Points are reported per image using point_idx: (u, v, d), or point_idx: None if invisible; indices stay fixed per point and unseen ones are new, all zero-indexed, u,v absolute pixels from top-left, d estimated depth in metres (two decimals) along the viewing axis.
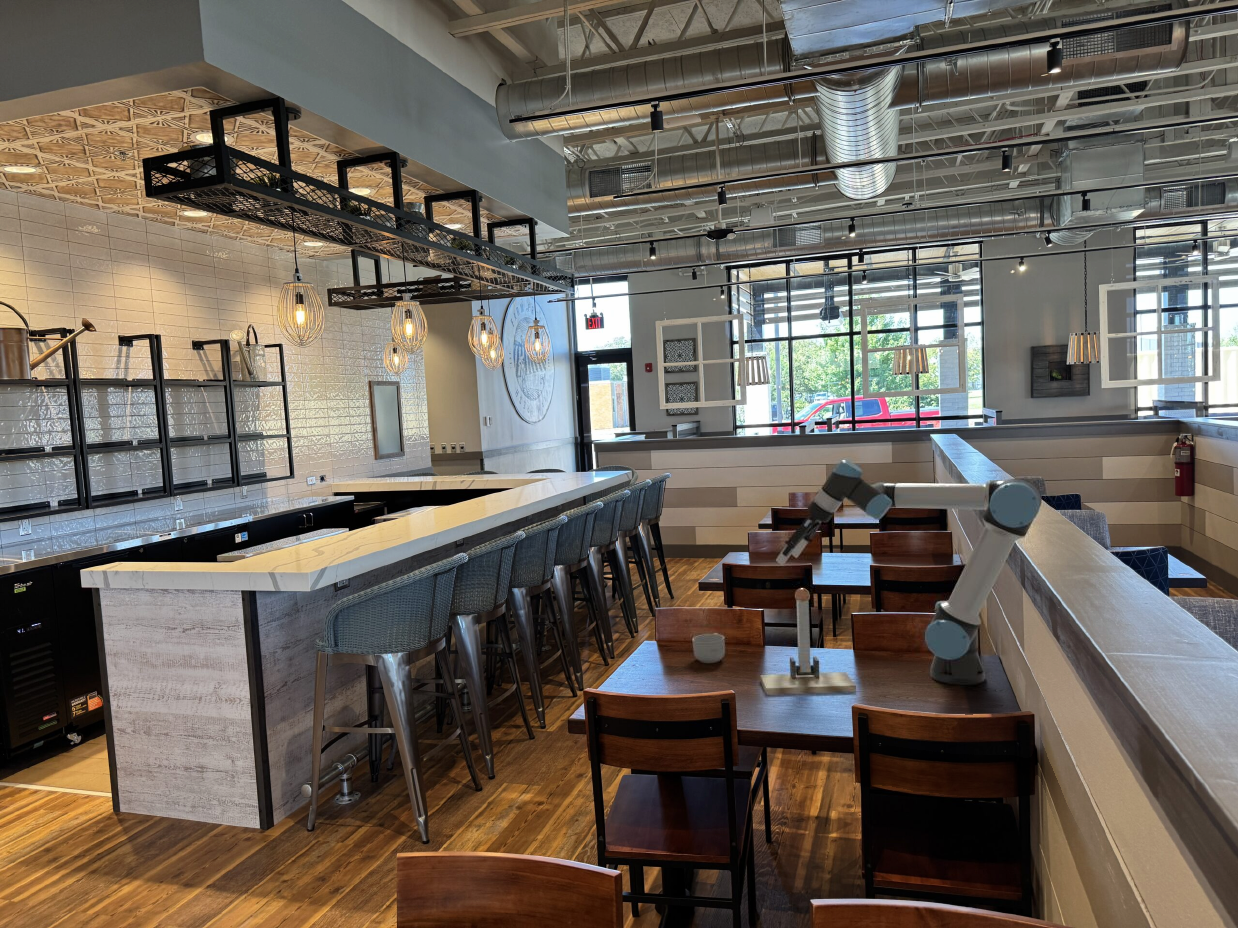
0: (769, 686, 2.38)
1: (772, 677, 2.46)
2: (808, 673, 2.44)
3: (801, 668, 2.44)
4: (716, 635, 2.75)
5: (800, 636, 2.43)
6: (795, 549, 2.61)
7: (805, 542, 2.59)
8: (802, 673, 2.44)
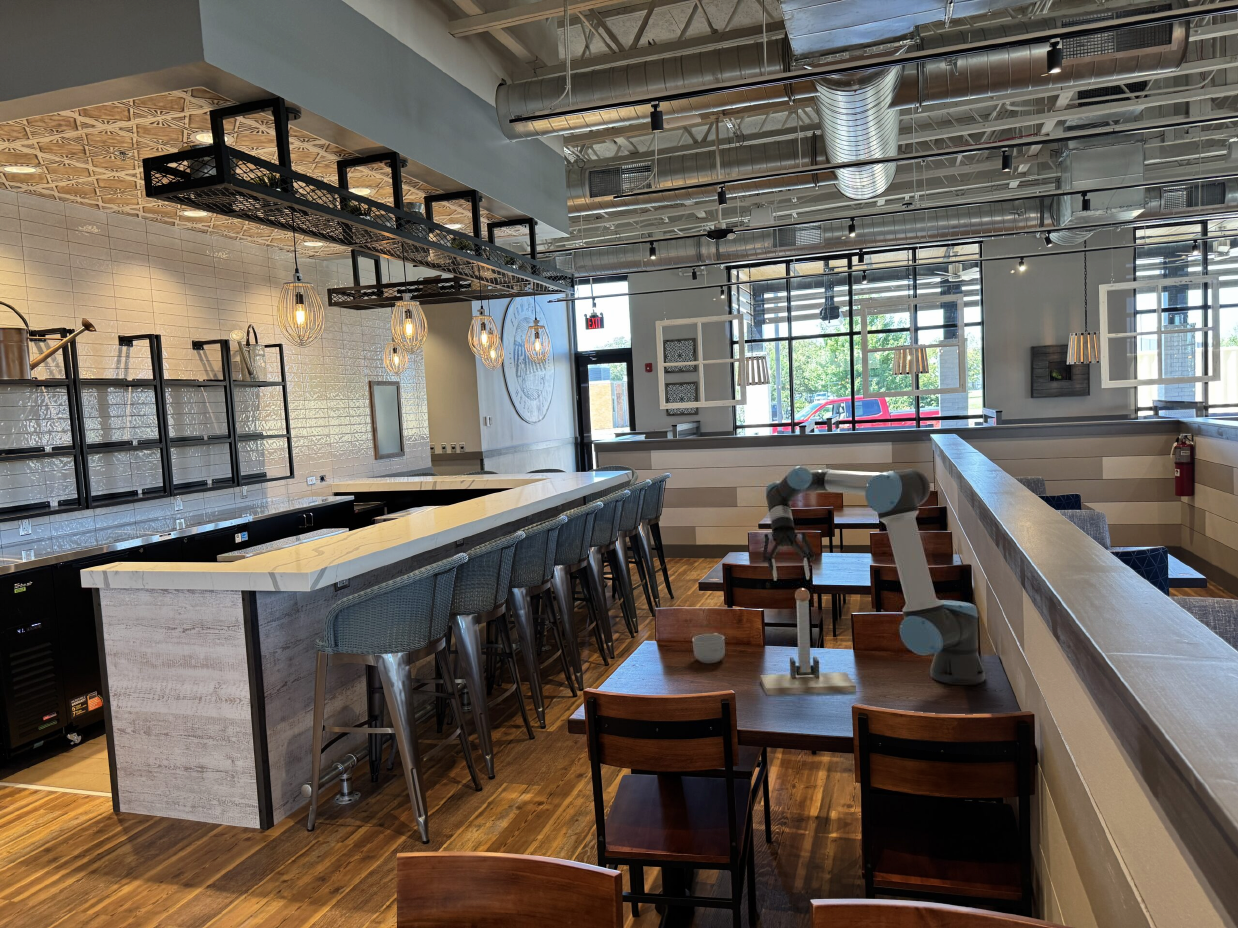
0: (769, 686, 2.38)
1: (772, 677, 2.46)
2: (808, 673, 2.44)
3: (801, 668, 2.44)
4: (716, 635, 2.75)
5: (800, 636, 2.43)
6: (805, 572, 2.62)
7: (804, 559, 2.64)
8: (802, 673, 2.44)
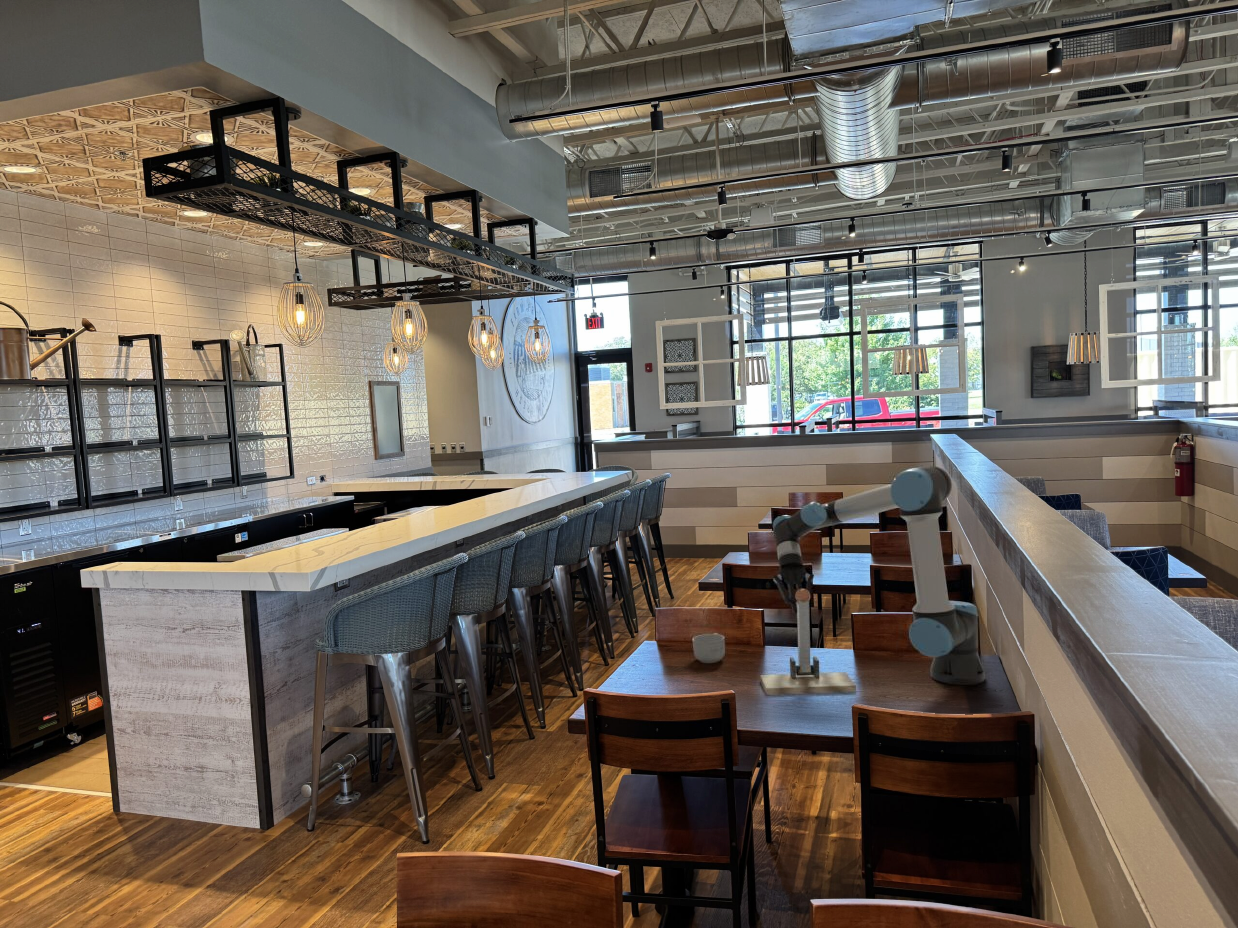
0: (769, 686, 2.38)
1: (772, 677, 2.46)
2: (808, 673, 2.44)
3: (801, 668, 2.44)
4: (716, 635, 2.75)
5: (800, 636, 2.43)
6: None
7: None
8: (802, 673, 2.44)
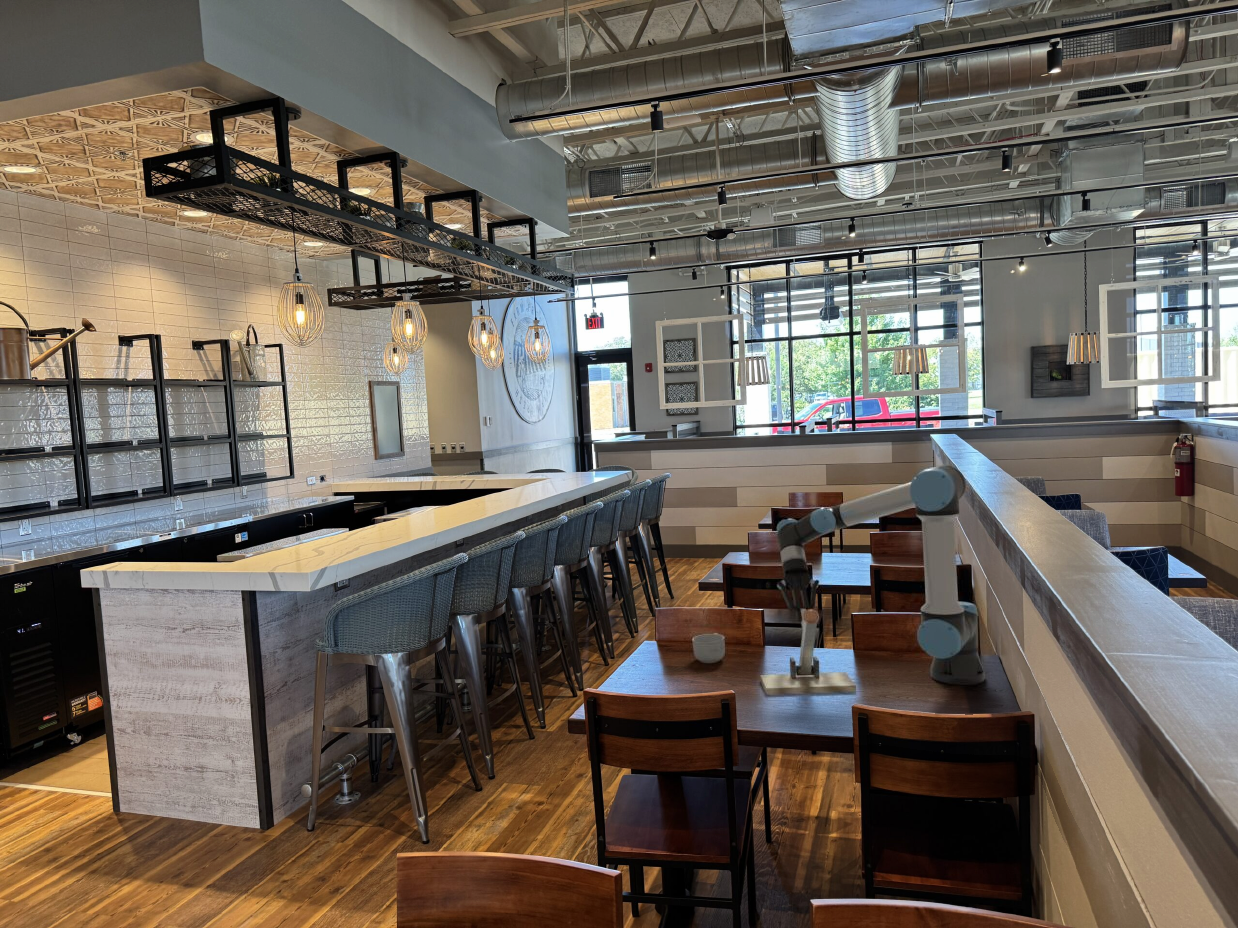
0: (769, 686, 2.38)
1: (772, 677, 2.46)
2: None
3: (801, 671, 2.43)
4: (716, 635, 2.75)
5: (804, 649, 2.38)
6: None
7: None
8: (802, 675, 2.44)
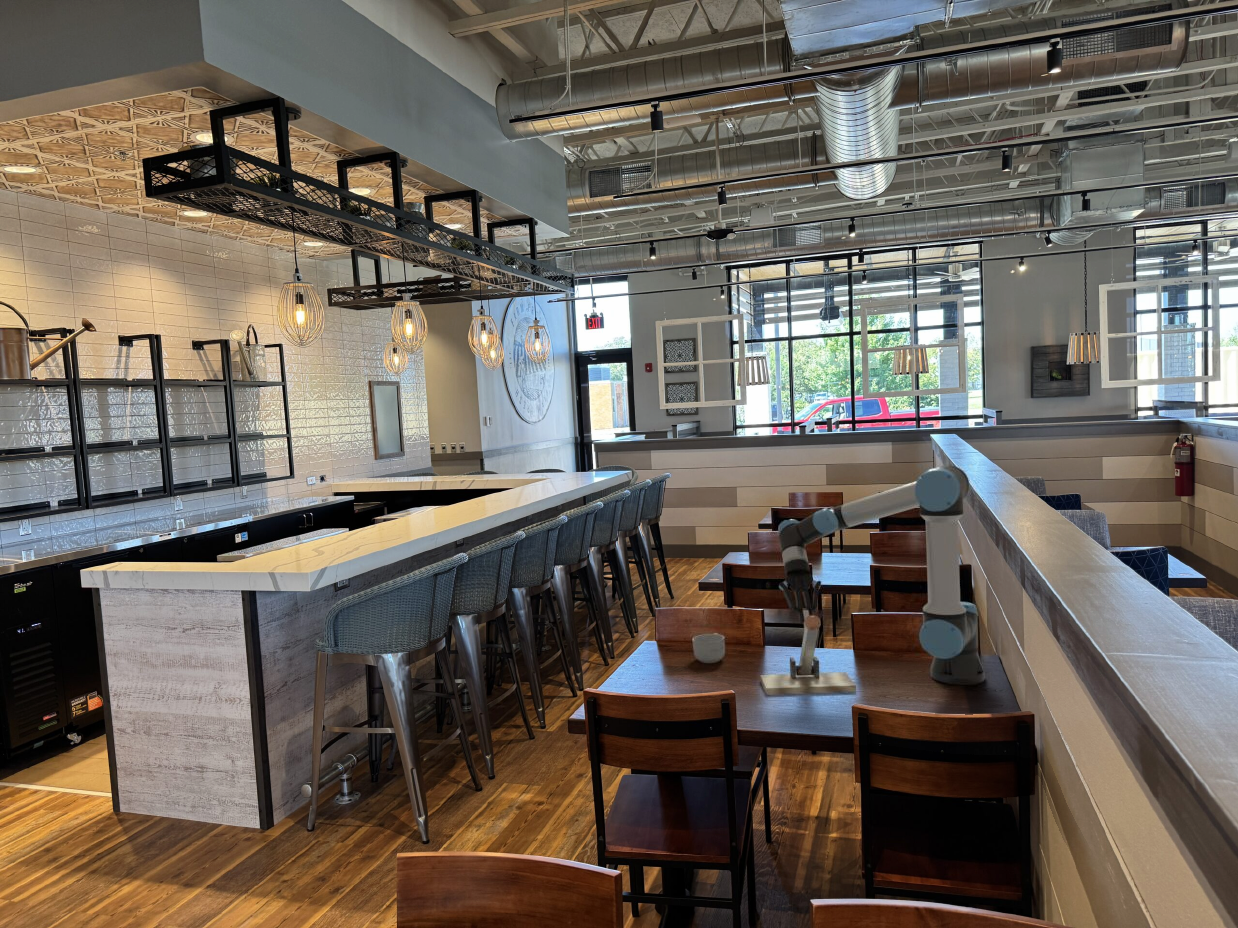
0: (769, 686, 2.38)
1: (772, 677, 2.46)
2: None
3: (801, 672, 2.43)
4: (716, 635, 2.75)
5: (804, 652, 2.37)
6: None
7: None
8: (802, 675, 2.45)
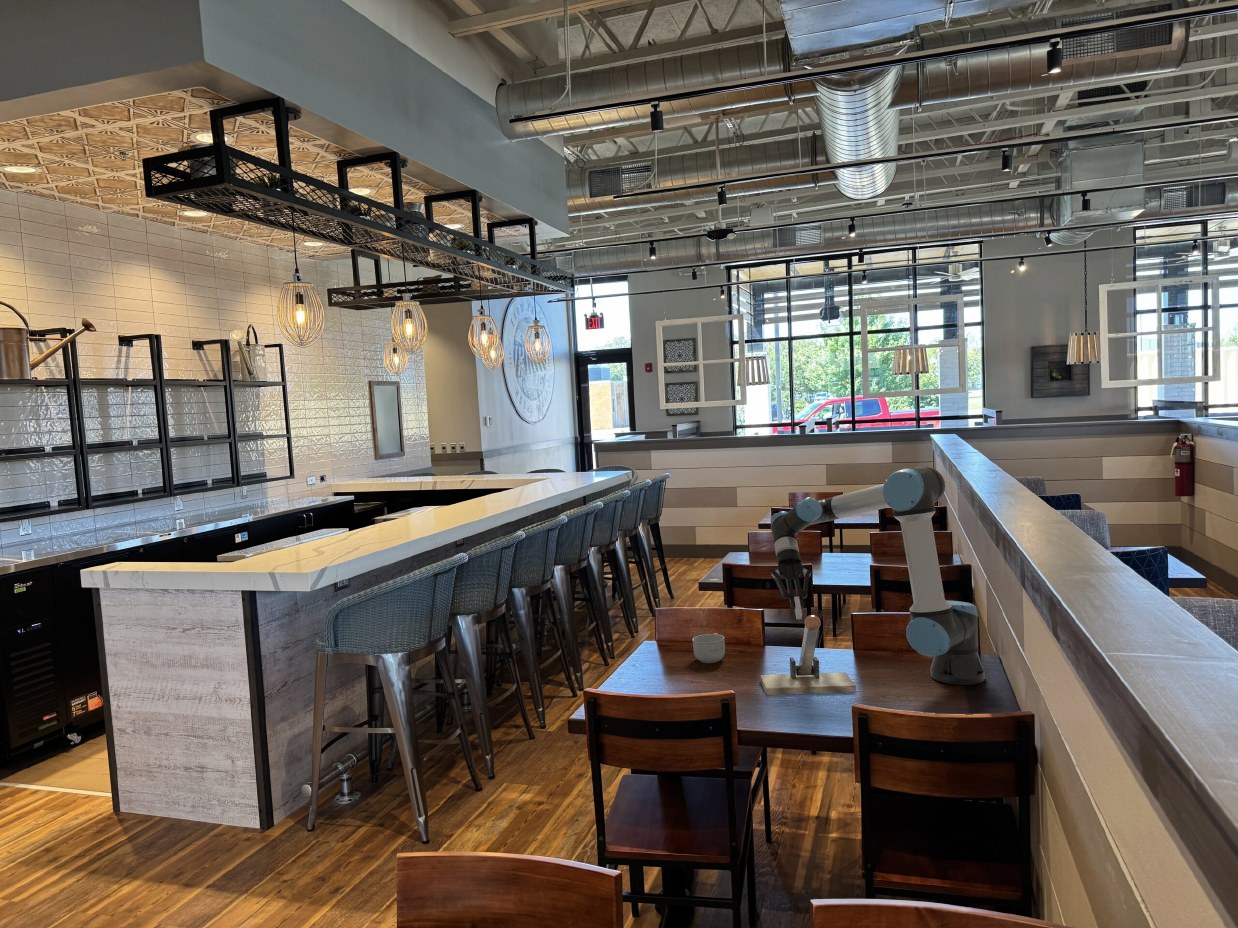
0: (769, 686, 2.38)
1: (772, 677, 2.46)
2: None
3: (801, 672, 2.43)
4: (716, 635, 2.75)
5: (804, 652, 2.37)
6: None
7: None
8: (802, 675, 2.45)
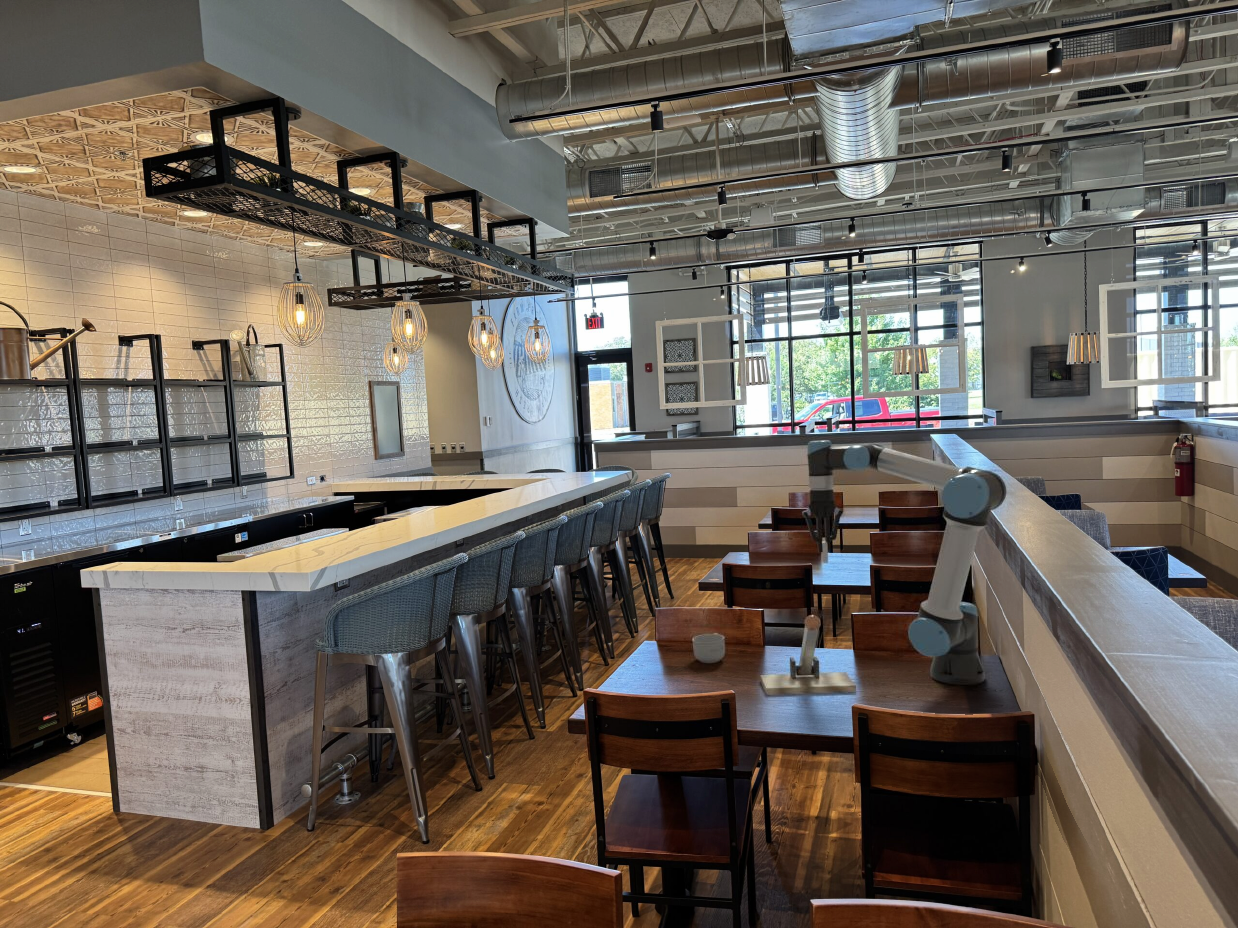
0: (769, 686, 2.38)
1: (772, 677, 2.46)
2: None
3: (801, 672, 2.43)
4: (716, 635, 2.75)
5: (804, 652, 2.37)
6: None
7: None
8: (802, 675, 2.45)
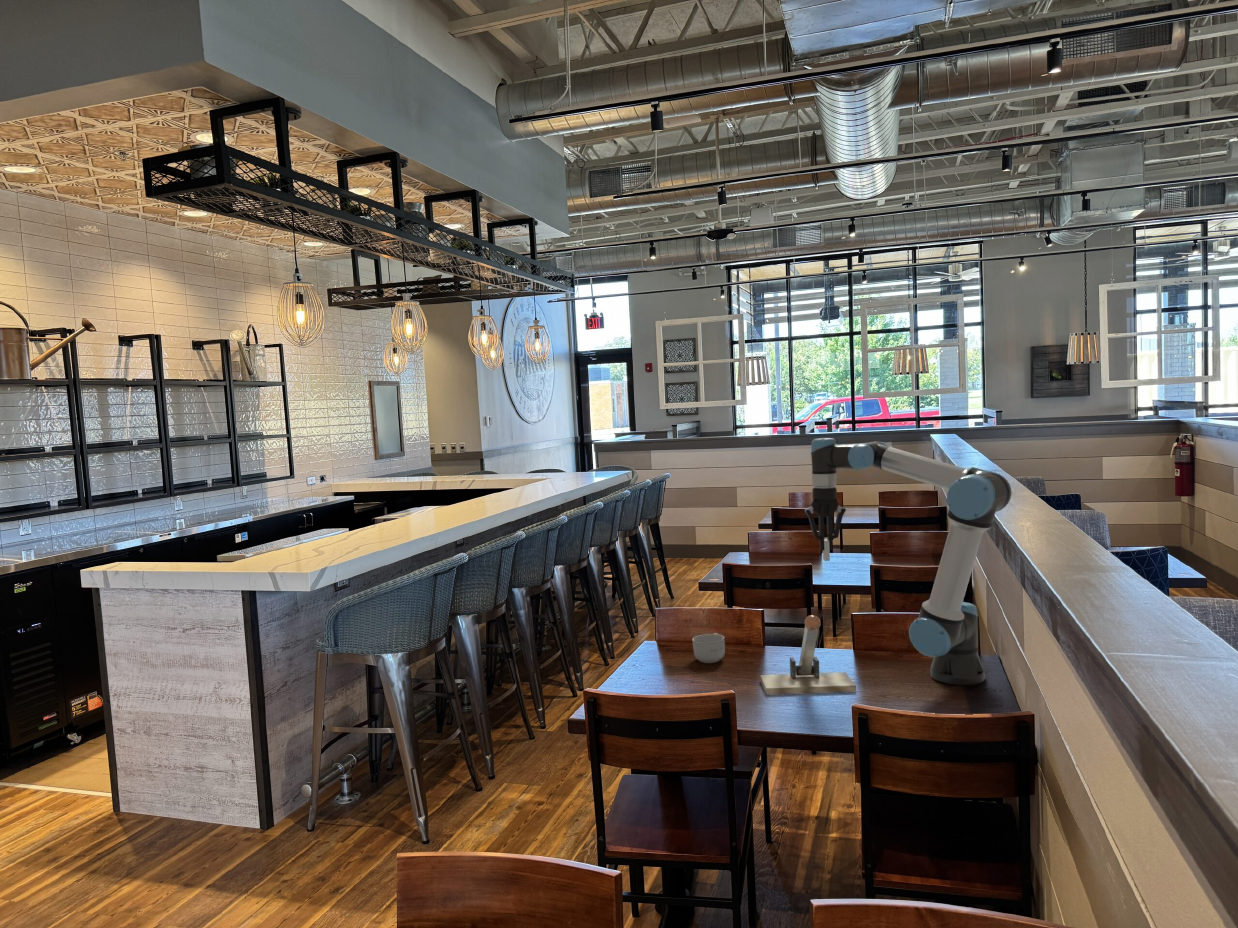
0: (769, 686, 2.38)
1: (772, 677, 2.46)
2: None
3: (801, 672, 2.43)
4: (716, 635, 2.75)
5: (804, 652, 2.37)
6: None
7: None
8: (802, 675, 2.45)
